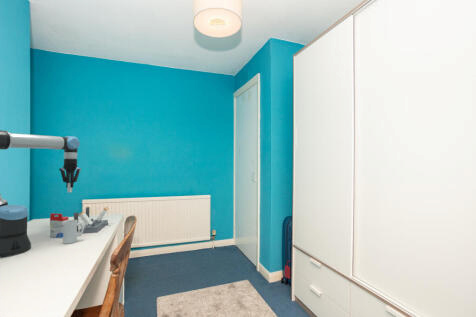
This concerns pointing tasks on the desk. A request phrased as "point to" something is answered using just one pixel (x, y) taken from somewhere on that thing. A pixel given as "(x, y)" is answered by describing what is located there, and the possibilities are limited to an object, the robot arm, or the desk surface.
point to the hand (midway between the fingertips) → (69, 192)
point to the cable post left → (76, 218)
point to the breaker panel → (94, 226)
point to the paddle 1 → (85, 218)
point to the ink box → (57, 225)
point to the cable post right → (88, 212)
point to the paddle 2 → (102, 214)
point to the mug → (71, 231)
